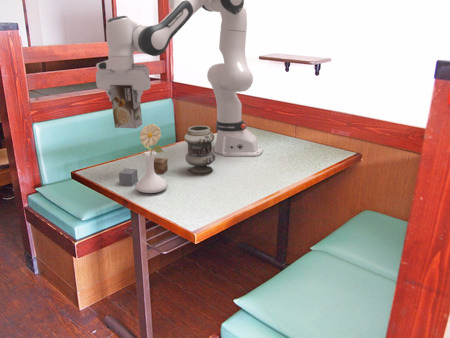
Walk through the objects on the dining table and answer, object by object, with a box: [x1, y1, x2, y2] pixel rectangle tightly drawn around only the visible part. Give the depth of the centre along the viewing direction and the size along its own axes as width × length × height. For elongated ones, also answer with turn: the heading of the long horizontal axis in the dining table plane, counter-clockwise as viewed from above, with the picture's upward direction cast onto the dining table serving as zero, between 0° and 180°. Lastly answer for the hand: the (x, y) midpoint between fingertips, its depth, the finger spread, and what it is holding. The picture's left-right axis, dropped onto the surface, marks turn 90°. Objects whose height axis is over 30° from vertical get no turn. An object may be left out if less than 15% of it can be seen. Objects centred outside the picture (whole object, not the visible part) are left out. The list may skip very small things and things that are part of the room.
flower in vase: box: [135, 123, 169, 194], centre depth 146 cm, size 13×11×25 cm
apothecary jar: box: [183, 125, 216, 176], centre depth 165 cm, size 12×12×18 cm
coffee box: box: [110, 85, 143, 129], centre depth 156 cm, size 9×6×16 cm
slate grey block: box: [118, 167, 139, 187], centre depth 156 cm, size 5×5×5 cm
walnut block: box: [154, 157, 169, 175], centre depth 167 cm, size 5×5×5 cm
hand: (125, 101), depth 155 cm, fingers closed on coffee box, 8 cm apart
